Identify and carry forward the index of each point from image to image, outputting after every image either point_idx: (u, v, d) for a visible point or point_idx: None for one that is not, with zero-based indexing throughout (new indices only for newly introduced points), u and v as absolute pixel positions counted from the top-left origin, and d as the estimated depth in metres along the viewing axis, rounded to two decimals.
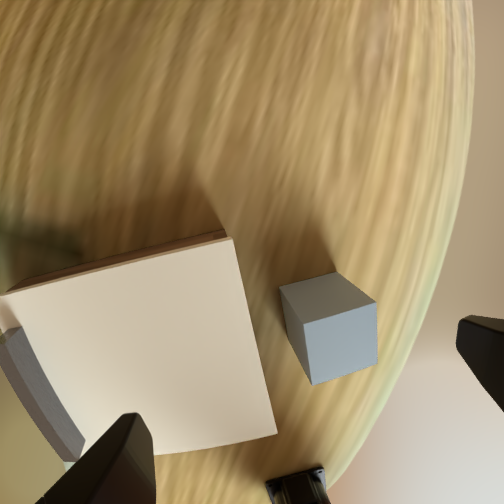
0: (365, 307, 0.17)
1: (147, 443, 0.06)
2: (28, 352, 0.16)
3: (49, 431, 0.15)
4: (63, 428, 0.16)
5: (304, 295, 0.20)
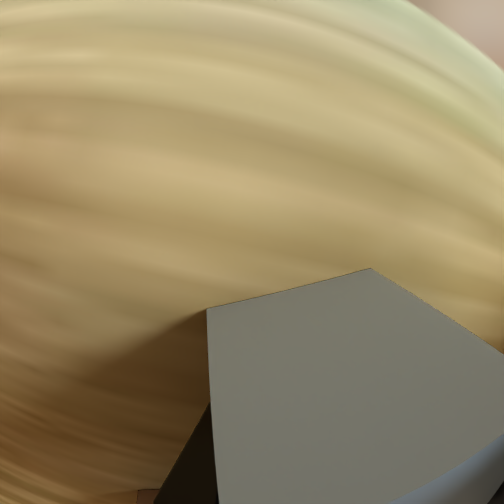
0: None
1: None
2: None
3: None
4: None
5: None
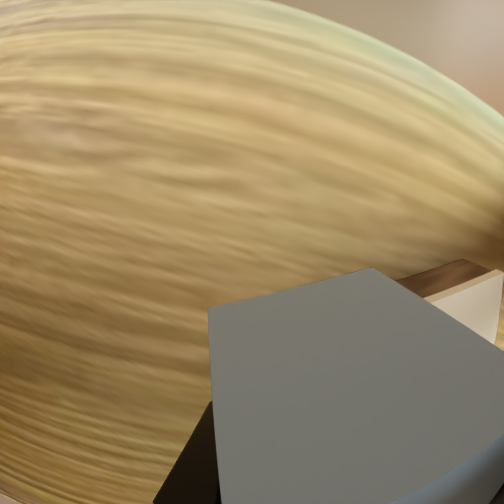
0: None
1: None
2: None
3: None
4: None
5: None
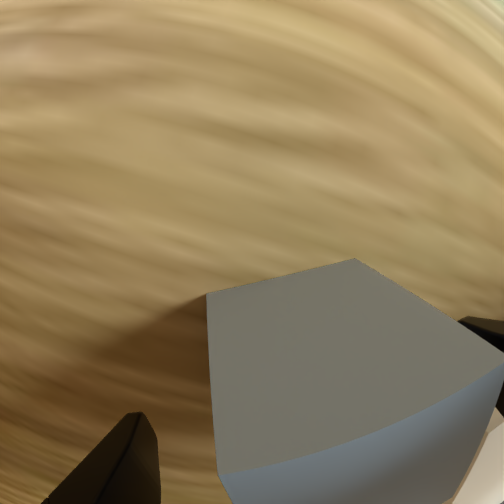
0: (241, 496, 0.03)
1: (152, 443, 0.06)
2: None
3: None
4: None
5: None
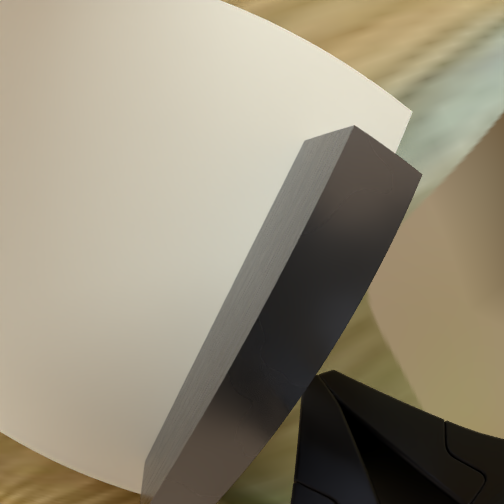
0: None
1: None
2: (156, 447, 0.07)
3: (286, 335, 0.05)
4: (259, 274, 0.05)
5: None
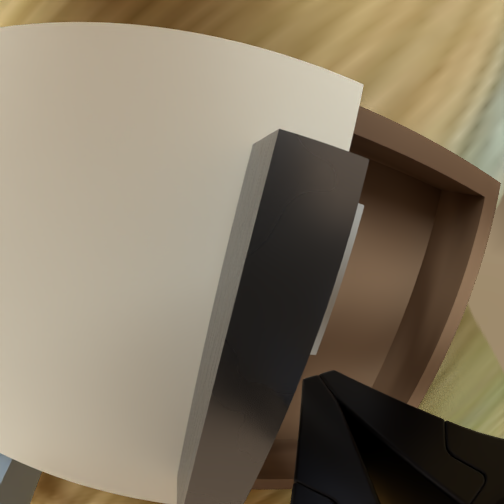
0: None
1: None
2: (182, 461, 0.07)
3: (258, 350, 0.05)
4: (226, 293, 0.05)
5: None
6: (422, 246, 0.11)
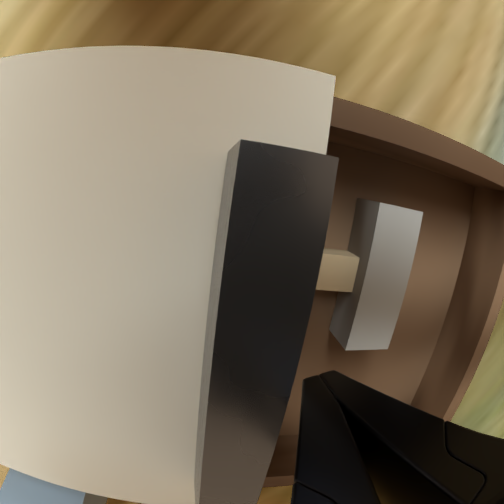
0: None
1: None
2: (195, 466, 0.08)
3: (247, 359, 0.05)
4: (213, 303, 0.05)
5: None
6: (463, 239, 0.12)
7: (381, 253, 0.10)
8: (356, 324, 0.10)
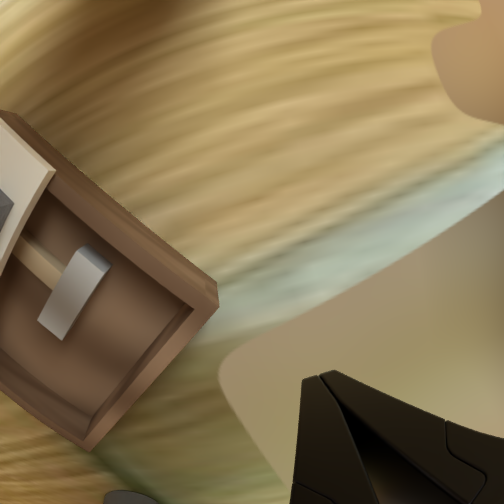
0: None
1: None
2: None
3: None
4: None
5: None
6: (165, 320, 0.17)
7: (68, 279, 0.14)
8: (45, 309, 0.14)
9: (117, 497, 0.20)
